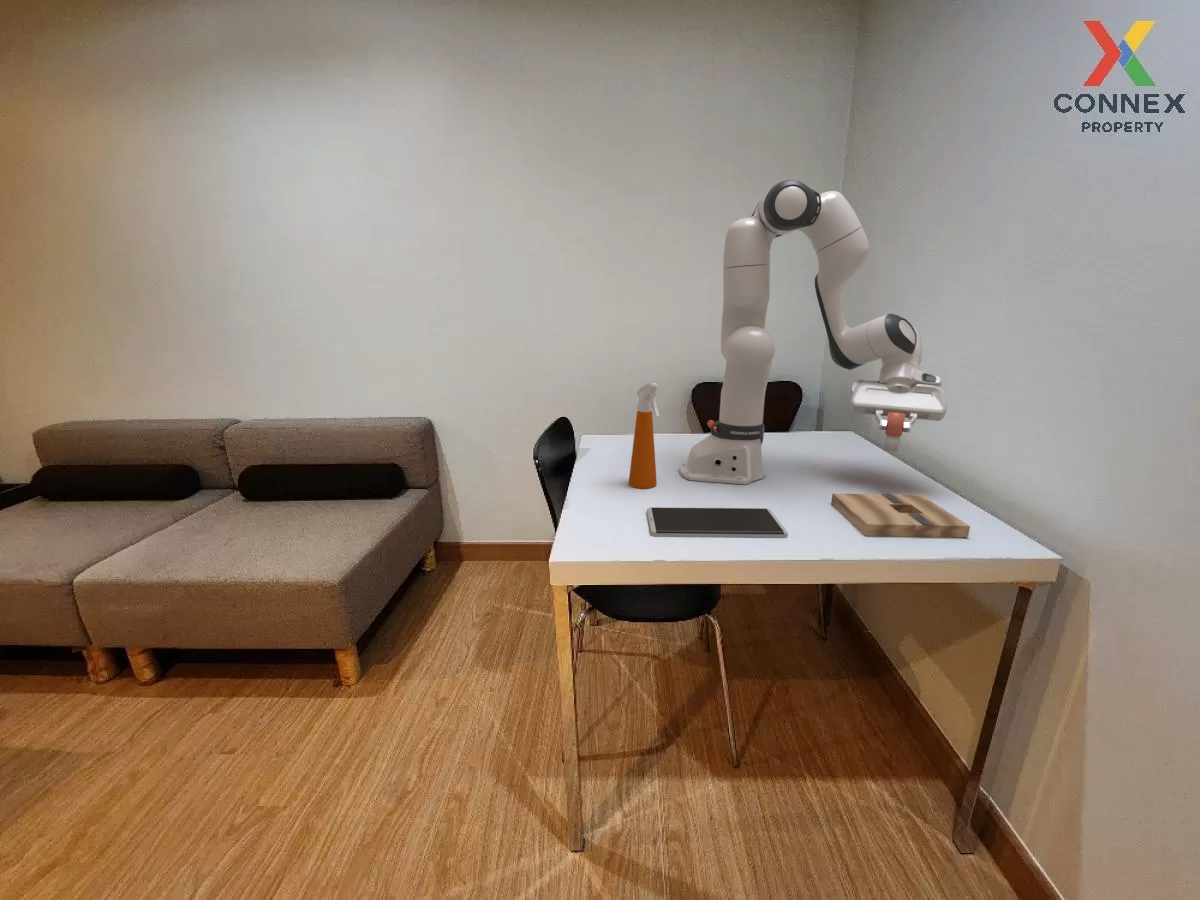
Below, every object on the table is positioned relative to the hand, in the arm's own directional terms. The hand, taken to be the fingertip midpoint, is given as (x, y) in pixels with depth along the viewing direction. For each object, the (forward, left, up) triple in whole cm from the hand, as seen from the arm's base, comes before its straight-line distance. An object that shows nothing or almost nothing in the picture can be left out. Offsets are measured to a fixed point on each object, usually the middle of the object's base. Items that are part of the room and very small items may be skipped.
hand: (894, 429), depth 129 cm
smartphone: (-45, -21, -17) cm, 52 cm away
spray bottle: (-58, +3, -16) cm, 60 cm away
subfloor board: (-6, -16, -16) cm, 23 cm away
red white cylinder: (0, +1, -5) cm, 5 cm away
